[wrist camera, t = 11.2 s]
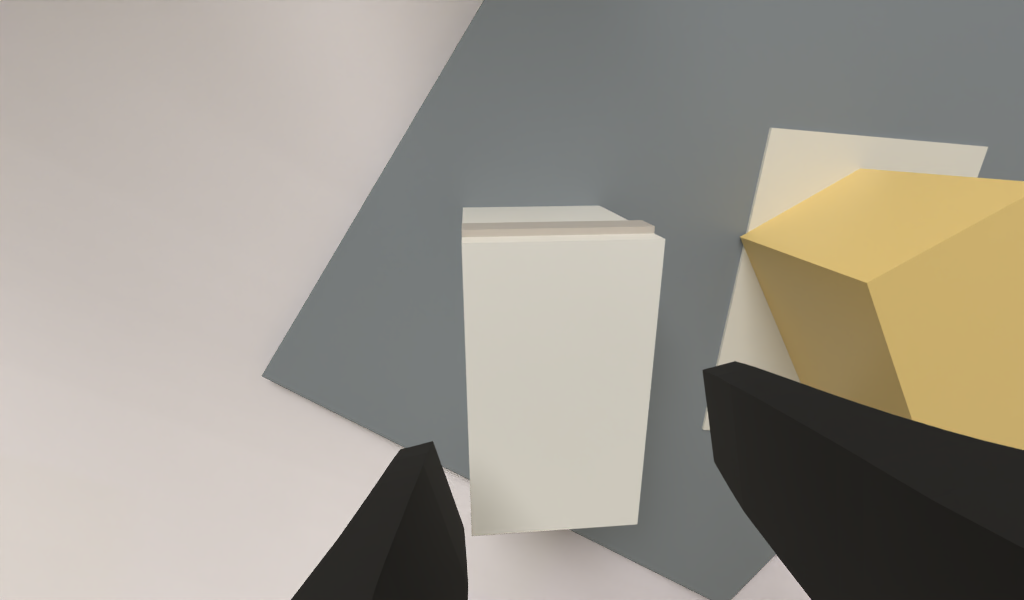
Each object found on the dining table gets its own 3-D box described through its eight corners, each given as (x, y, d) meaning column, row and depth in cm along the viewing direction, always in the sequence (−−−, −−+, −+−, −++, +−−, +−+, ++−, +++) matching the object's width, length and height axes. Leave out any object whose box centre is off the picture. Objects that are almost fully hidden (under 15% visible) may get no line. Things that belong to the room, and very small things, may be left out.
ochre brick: (860, 168, 15) (1049, 183, 10) (916, 349, 17) (1092, 432, 12) (739, 236, 15) (866, 283, 10) (810, 405, 17) (941, 507, 12)
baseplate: (782, -501, 10) (797, -532, 10) (1218, 85, 15) (1242, 84, 15) (266, 370, 15) (260, 377, 15) (719, 597, 20) (725, 608, 20)
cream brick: (599, 200, 14) (665, 231, 10) (588, 417, 17) (636, 529, 12) (462, 202, 14) (461, 235, 9) (469, 423, 16) (471, 541, 12)
